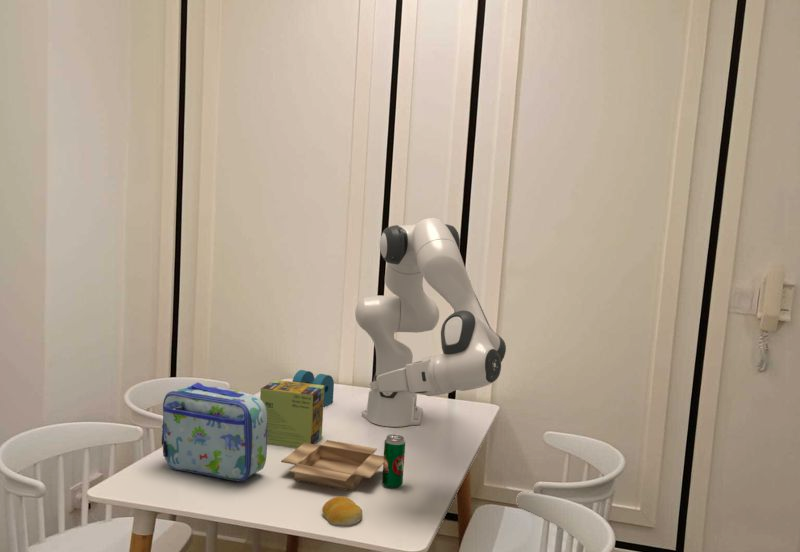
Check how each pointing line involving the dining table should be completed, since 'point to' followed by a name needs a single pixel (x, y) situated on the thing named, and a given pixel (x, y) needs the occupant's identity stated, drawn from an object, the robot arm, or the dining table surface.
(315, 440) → the protein box
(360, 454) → the carton
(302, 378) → the camera mount
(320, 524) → the dining table surface
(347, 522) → the bread roll
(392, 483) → the soda can
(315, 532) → the dining table surface
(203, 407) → the lunch box
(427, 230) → the robot arm
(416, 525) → the dining table surface
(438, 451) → the dining table surface
